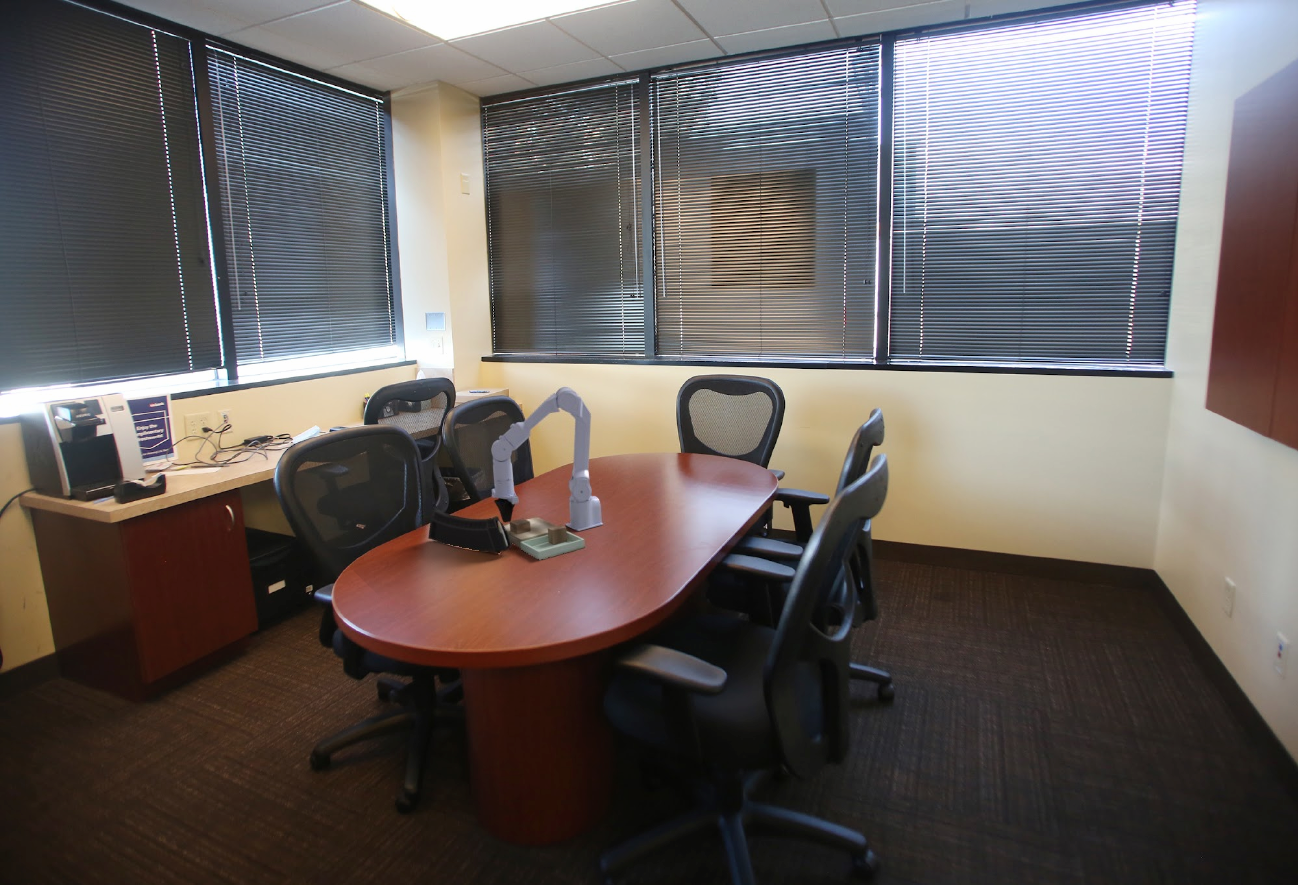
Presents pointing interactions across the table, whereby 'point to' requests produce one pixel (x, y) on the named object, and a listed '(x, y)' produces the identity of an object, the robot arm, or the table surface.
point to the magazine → (469, 532)
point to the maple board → (537, 530)
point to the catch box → (551, 546)
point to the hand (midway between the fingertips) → (507, 521)
